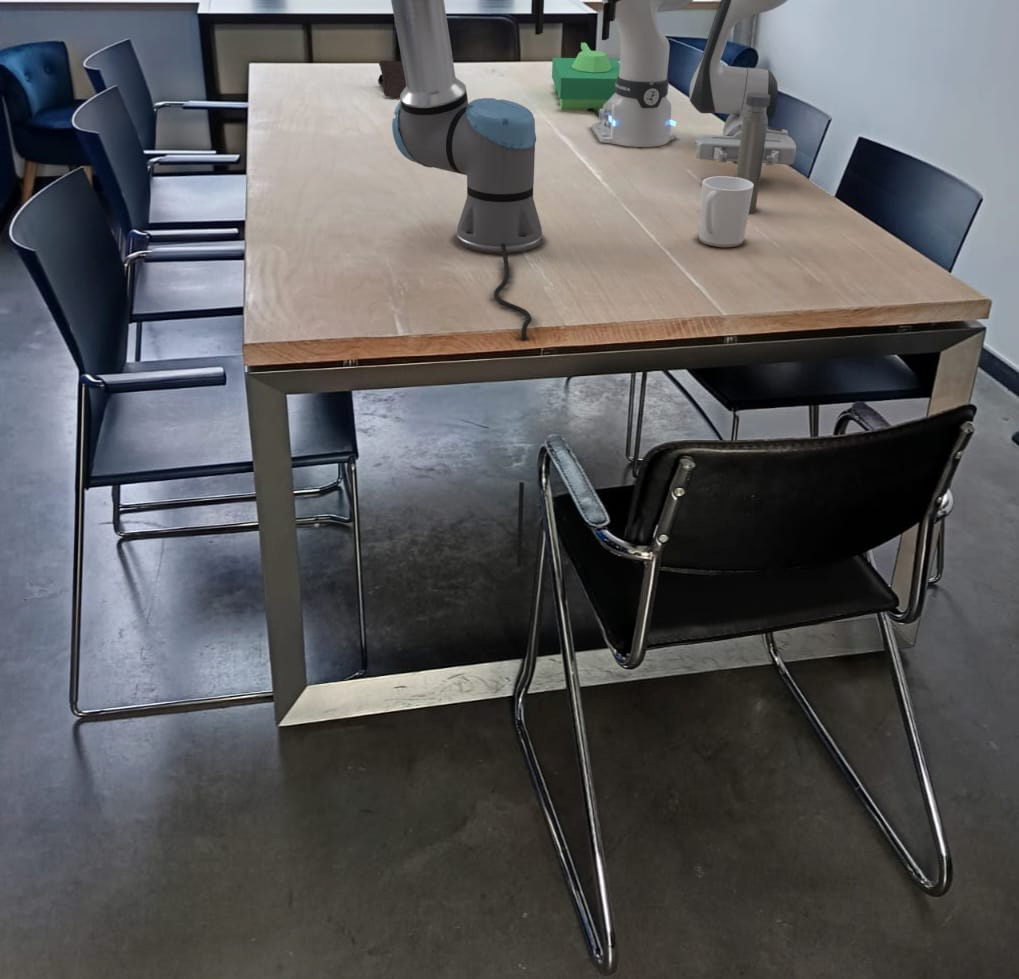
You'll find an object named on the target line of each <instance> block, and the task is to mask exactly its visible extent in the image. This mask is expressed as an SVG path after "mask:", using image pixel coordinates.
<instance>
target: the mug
mask: <svg viewBox="0 0 1019 979" xmlns="http://www.w3.org/2000/svg"><path fill="white" fill-rule="evenodd" d="M753 187H754V185H753V183H752V182H750V181H748V180H746V179H742V178H737V177H736V176H728V175H727V176H725V175H719V176H717V175H716V176H715V175H714V176H709V177H706V178H704V179H703V180H702V182H701V194H700V195H701V196H700V197H701V198H700V210H699V211H700V213H699V225H698V226H699V227H698V239H699V241H700V242H701V243H703V244H704V245H708V246H710V247H716V248H733V247H739V246H740V245H742V244H743V243H744V240H745V236H746V235H745V234H746V229H747V224H748V220H749V215H750V213H749V208H750V203H751V198H752V192H753Z"/></svg>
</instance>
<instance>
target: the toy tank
mask: <svg viewBox="0 0 1019 979" xmlns="http://www.w3.org/2000/svg"><path fill="white" fill-rule="evenodd" d="M580 49H581V51H580V52H578V54H577V56H576V57H552V62H551V63H552V65H551V66H552V67H551V79H552V81H553V84H554V92H555V93H556V94H557V95H558V99H559V107H560V110H561V111H586V110H587V109H590V108H592V109H595V110H597V111H599V109H603V105H604V104H605V103H606V102H607V101H608V100H609V99H610V98H611V97H612V95H613V94H614V93H615V91H614V89H615V83H616V80H617V77H618V76H619V69H620V61H618V59H617V58H609V57H608V54H607V53H605V52H603V51H601V50H600V51H598V50H591V48H590V47H589V45H588V44H587V42H581V43H580Z"/></svg>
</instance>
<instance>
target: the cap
mask: <svg viewBox="0 0 1019 979" xmlns="http://www.w3.org/2000/svg"><path fill="white" fill-rule="evenodd" d="M746 104H747V105H748V106H752V107H768V106H769V104H770V95H769V94H765V93H749V94H748V95H747V100H746Z"/></svg>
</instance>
